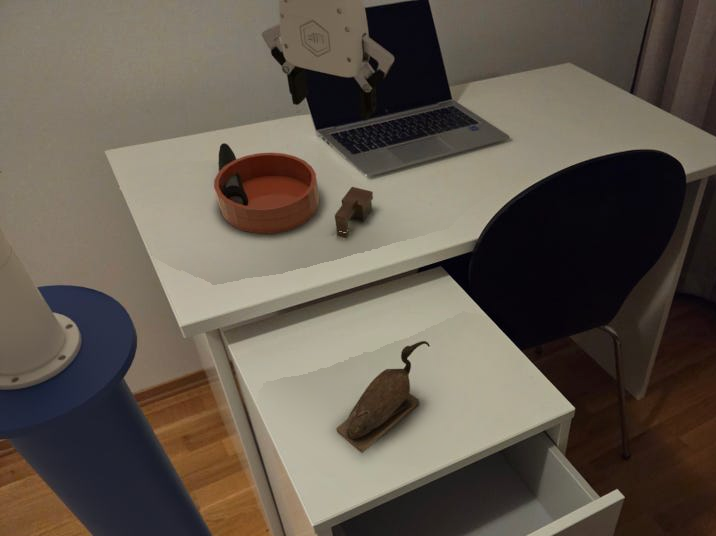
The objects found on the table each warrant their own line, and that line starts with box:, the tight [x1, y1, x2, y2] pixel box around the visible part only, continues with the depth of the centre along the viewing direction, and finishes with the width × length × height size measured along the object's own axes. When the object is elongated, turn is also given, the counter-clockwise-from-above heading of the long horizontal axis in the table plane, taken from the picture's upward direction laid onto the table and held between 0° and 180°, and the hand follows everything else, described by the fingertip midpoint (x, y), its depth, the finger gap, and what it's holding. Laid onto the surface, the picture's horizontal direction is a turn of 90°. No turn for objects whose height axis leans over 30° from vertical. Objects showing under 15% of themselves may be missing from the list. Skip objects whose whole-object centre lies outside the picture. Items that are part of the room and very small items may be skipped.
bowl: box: [213, 152, 320, 234], centre depth 102 cm, size 15×15×4 cm
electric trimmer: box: [218, 142, 248, 206], centre depth 105 cm, size 4×16×3 cm, turn 20°
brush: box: [334, 186, 374, 239], centre depth 100 cm, size 8×4×4 cm, turn 164°
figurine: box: [335, 340, 431, 454], centre depth 76 cm, size 14×4×9 cm, turn 141°
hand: (333, 107), depth 85 cm, fingers open, 9 cm apart
